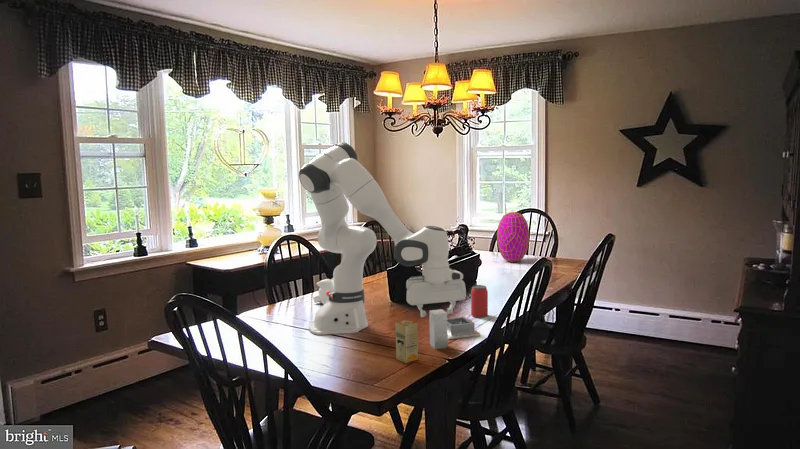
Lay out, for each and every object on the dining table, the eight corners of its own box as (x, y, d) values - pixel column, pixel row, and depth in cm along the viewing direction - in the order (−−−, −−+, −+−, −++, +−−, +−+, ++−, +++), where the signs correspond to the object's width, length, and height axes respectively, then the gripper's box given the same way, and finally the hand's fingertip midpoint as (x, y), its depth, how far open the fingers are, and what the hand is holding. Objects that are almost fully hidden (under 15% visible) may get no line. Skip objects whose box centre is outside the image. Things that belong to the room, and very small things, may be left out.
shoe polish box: (408, 355, 183) (407, 319, 182) (418, 359, 179) (417, 322, 178) (396, 358, 180) (395, 322, 179) (405, 363, 176) (405, 325, 175)
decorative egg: (527, 258, 350) (527, 210, 347) (530, 264, 331) (531, 213, 328) (496, 258, 353) (496, 210, 349) (497, 264, 334) (497, 214, 330)
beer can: (475, 318, 223) (474, 289, 221) (468, 314, 229) (468, 285, 228) (490, 317, 224) (490, 287, 223) (483, 313, 231) (483, 284, 229)
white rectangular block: (434, 349, 189) (434, 314, 187) (429, 344, 193) (429, 310, 192) (447, 347, 190) (447, 312, 189) (442, 343, 195) (441, 309, 193)
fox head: (320, 282, 262) (297, 288, 243) (350, 271, 256) (329, 277, 237) (330, 309, 261) (307, 318, 242) (360, 299, 254) (339, 307, 236)
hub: (449, 339, 198) (449, 327, 197) (436, 329, 209) (436, 318, 209) (480, 335, 202) (480, 323, 201) (466, 326, 213) (465, 315, 212)
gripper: (408, 279, 182) (409, 321, 183) (467, 273, 187) (468, 314, 189) (403, 275, 188) (404, 315, 189) (460, 270, 193) (460, 309, 195)
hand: (436, 315), depth 189 cm, fingers open, 8 cm apart
